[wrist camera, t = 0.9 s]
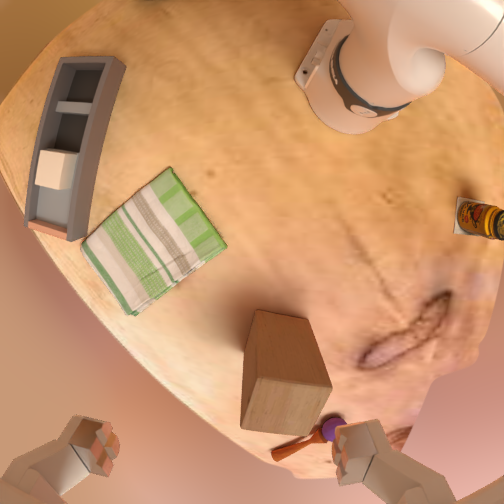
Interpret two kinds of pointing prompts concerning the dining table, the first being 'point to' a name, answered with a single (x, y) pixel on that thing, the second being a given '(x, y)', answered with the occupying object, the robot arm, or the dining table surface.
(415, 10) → the robot arm
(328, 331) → the dining table surface
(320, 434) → the purple and brown maraca
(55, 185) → the cream block
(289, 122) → the dining table surface
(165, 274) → the dish towel
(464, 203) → the condiment
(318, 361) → the wooden block
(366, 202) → the dining table surface
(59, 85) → the box
